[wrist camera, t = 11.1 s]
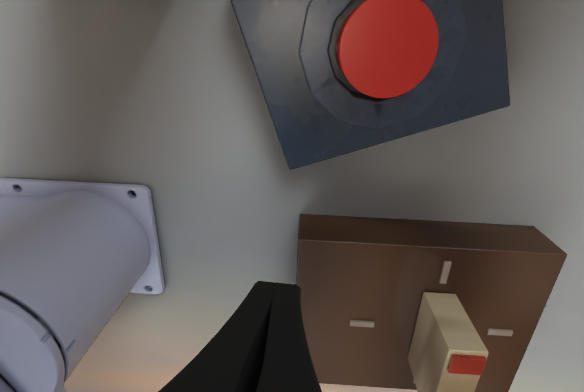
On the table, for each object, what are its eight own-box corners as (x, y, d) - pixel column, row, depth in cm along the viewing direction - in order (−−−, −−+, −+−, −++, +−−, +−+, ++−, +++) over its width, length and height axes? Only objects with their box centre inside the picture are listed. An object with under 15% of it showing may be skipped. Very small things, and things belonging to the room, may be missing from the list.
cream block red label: (436, 360, 21) (464, 430, 18) (407, 358, 21) (428, 428, 18) (455, 293, 19) (492, 357, 15) (423, 291, 19) (450, 354, 15)
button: (348, 103, 15) (352, 110, 14) (325, 16, 14) (327, 12, 12) (431, 76, 15) (445, 81, 13) (416, -18, 13) (430, -25, 12)
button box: (291, 160, 20) (287, 183, 17) (231, -14, 16) (212, -27, 13) (493, 100, 18) (533, 113, 15) (474, -111, 14) (520, -154, 11)
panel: (293, 345, 26) (291, 383, 23) (300, 213, 21) (298, 241, 18) (485, 357, 25) (507, 398, 22) (534, 225, 21) (570, 256, 18)
